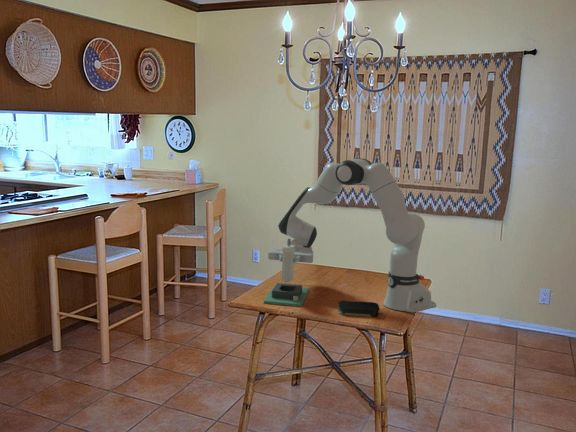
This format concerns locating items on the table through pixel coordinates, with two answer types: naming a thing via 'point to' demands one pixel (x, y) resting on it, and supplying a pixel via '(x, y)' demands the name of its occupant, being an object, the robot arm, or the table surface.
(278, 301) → the board
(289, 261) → the plug
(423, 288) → the robot arm
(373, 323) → the table surface
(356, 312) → the black scrub brush
